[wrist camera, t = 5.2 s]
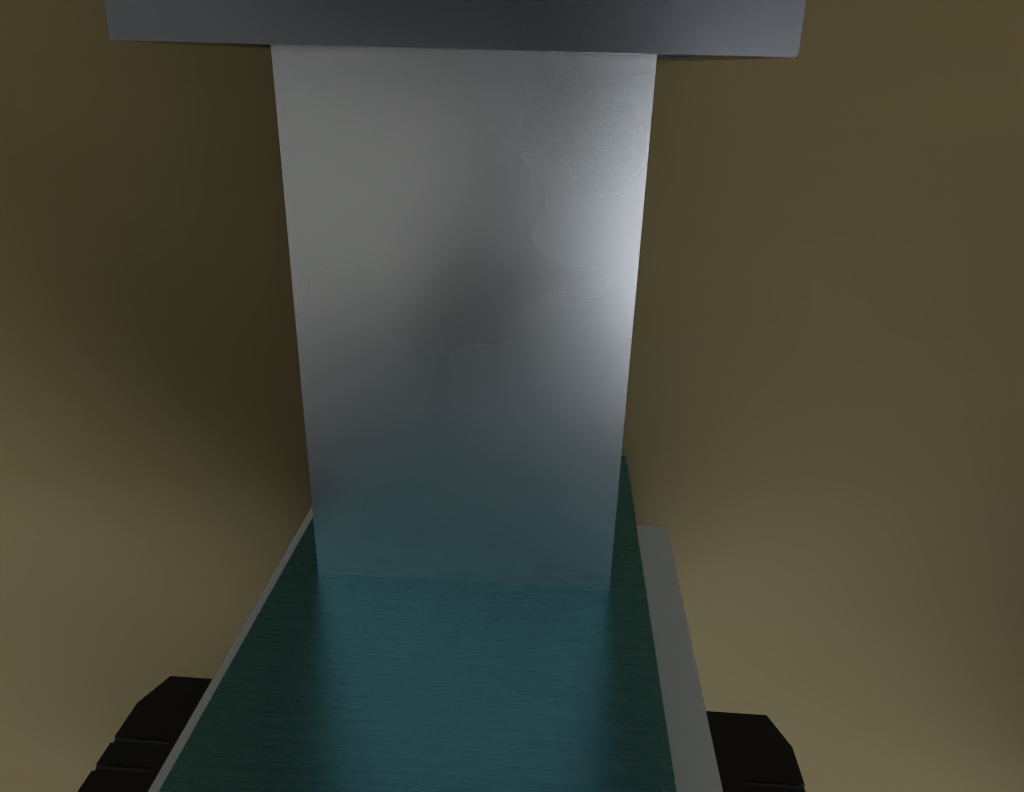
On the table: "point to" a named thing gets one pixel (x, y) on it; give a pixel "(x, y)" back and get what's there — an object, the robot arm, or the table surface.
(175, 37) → the grey rectangular block
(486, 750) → the teal square post
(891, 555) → the table surface
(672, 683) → the robot arm
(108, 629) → the table surface
